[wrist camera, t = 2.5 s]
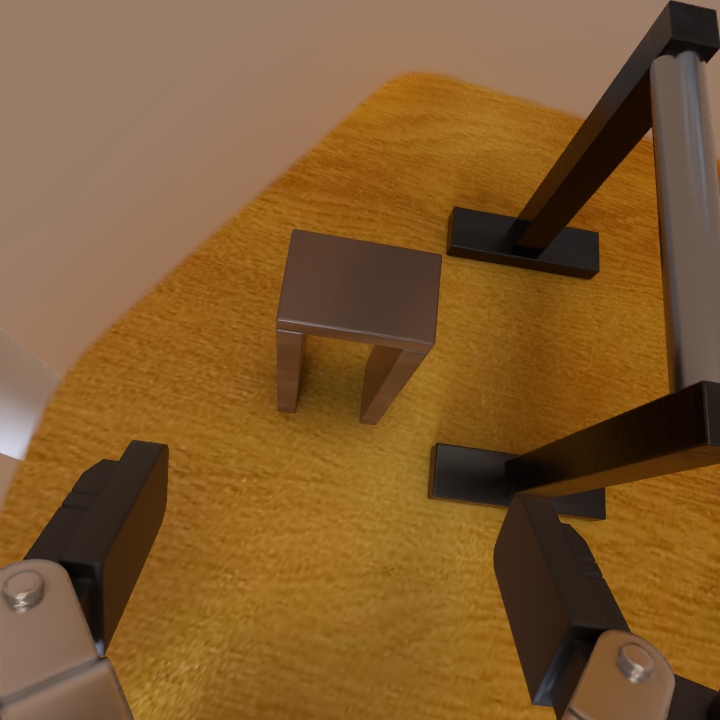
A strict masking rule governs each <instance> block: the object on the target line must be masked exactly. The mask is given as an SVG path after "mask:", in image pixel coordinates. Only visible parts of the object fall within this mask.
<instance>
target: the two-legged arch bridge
mask: <svg viewBox="0 0 720 720" xmlns="http://www.w3.org/2000/svg"><path fill="white" fill-rule="evenodd" d="M441 262H442V256H441V254H436V253H430V252H424V251H418V250H413V249H407V248H401V247H395V246H389V245H384V244H378V243H372V242H366V241H360V240H355V239H349V238H343V237H337V236H332V235H326V234H320V233H314V232H308V231H303V230H297V229H293V231H292V234H291V240H290V245H289V251H288V256H287V262H286V267H285V273H284V278H283V284H282V289H281V295H280V300H279V306H278V311H277V317H276V327H277V328H276V334H277V384H278V411H281V412H288V413H295V411H296V405H297V398H298V392H299V386H300V380H301V373H302V367H303V361H304V355H305V346H306V338H307V334H310V335H316V336H323V337H329V338H335V339H342V340H348V341H354V342H361V343H367V344H373V345H375V346H374V348H373V350H372V352H371V355H370V357H369V359H368V361H367V364H366V372H365V380H364V388H363V396H362V405H361V413H360V423H364V424H371V425H376V424H377V422H378V421H379V420H380V418H381V417H382V416H383V414H384V413H385V411H386V410H387V409H388V407H389V406H390V405H391V403H392V402H393V401H394V399H395V398H396V396H397V395H398V394H399V392H400V391H401V390H402V388H403V387H404V386H405V384H406V383H407V381H408V380H409V379H410V377H411V376H412V375H413V373H414V372H415V371H416V369H417V368H418V366H419V365H420V364H421V362H422V361H423V360H424V358H425V357H426V355H427V354H428V353H429V351H430V350H431V349H432V347H433V346H434V344H435V338H436V325H437V312H438V300H439V287H440V275H441Z"/></svg>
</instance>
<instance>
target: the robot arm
mask: <svg viewBox="0 0 720 720" xmlns="http://www.w3.org/2000/svg"><path fill="white" fill-rule="evenodd" d="M168 459H169V448H168V445H166V444H159V443H152V442H145V441H138V440H133V441H132V442H131V443H130V444H129V446H128V447H127V449H126V451H125V452H124V454H123V455H122V457H121V459H120V460H119V461H114V460H106V459H103V460H101V461H100V462H98V463H97V464H95V465H94V466H92V467H91V468H89V469H88V470H86V471H85V472H83V474H82V475H81V477H80V478H79V480H78V481H77V483H76V484H75V485H74V487H73V488H72V491H71V493H69V494H68V496H67V497H66V498H65V500H64V501H63V503H62V506H61V507H59V508H58V510H57V511H56V513H55V514H54V516H53V517H52V519H51V520H50V521H49V523H48V524H47V526H46V527H45V529H44V530H43V532H42V533H41V534H40V536H39V537H38V539H37V540H36V542H35V543H34V544H33V546H32V547H31V549H30V550H29V552H28V553H27V555H26V556H25V557H24V559H23V560H22V561H19V562H15V563H13V564H10V565H7V566H5V567H3V568H1V569H0V720H134V718H133V715H132V713H131V710H130V708H129V705H128V703H127V700H126V698H125V695H124V693H123V690H122V688H121V685H120V683H119V680H118V677H117V675H116V672H115V670H114V668H113V665H112V663H111V661H110V660H109V658H108V657H106V656H105V657H103V658H101V657H100V655H101V656H104V655H105V653H106V650H107V648H108V646H109V644H110V641H111V639H112V637H113V634H114V632H115V630H116V627H117V625H118V623H119V621H120V618H121V616H122V614H123V611H124V609H125V607H126V605H127V602H128V600H129V598H130V595H131V593H132V591H133V589H134V586H135V584H136V582H137V579H138V577H139V575H140V573H141V570H142V568H143V566H144V563H145V561H146V559H147V557H148V554H149V552H150V550H151V547H152V545H153V543H154V541H155V538H156V536H157V534H158V531H159V529H160V527H161V524H162V521H163V517H164V513H165V509H166V502H167V484H168ZM493 560H494V570H495V574H496V578H497V581H498V585H499V588H500V592H501V596H502V599H503V603H504V606H505V610H506V613H507V617H508V620H509V624H510V627H511V631H512V634H513V638H514V641H515V645H516V648H517V652H518V655H519V659H520V663H521V666H522V670H523V673H524V677H525V680H526V684H527V687H528V691H529V694H530V698H531V701H532V705H540V706H549V707H553V708H554V711H555V714H556V718H557V719H556V720H720V689H719V691H715V690H713V689H710V688H708V687H705V686H703V685H700V684H698V683H695V682H693V681H690V680H688V679H685V678H683V677H680V676H678V675H676V674H674V673H673V671H672V669H671V667H670V665H669V663H668V662H667V660H666V659H665V657H664V656H663V655H662V654H661V653H660V652H659V651H658V650H657V649H656V648H655V647H654V646H653V645H652V644H650V643H649V642H648V641H646V640H645V639H643V638H641V637H639V636H637V635H635V634H633V633H631V631H630V629H629V627H628V625H627V623H626V621H625V619H624V617H623V615H622V613H621V611H620V609H619V607H618V605H617V603H616V601H615V599H614V597H613V595H612V593H611V591H610V589H609V587H608V585H607V583H606V581H605V579H602V573H601V571H600V569H599V567H598V565H597V564H596V563H595V559H594V557H593V555H592V553H591V551H590V549H589V547H588V545H587V543H586V541H585V540H584V539H583V538H582V537H581V536H580V535H579V534H578V533H577V532H576V531H575V530H574V529H573V528H572V527H571V526H570V525H569V524H564V523H561V522H560V520H559V518H558V516H557V514H556V512H555V509H554V507H553V505H552V503H551V502H550V500H548V499H543V498H536V497H529V496H522V495H516V496H514V497H513V499H512V501H511V503H510V506H509V509H508V511H507V514H506V517H505V519H504V522H503V525H502V527H501V530H500V533H499V536H498V538H497V541H496V544H495V548H494V558H493Z"/></svg>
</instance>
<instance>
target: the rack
mask: <svg viewBox="0 0 720 720" xmlns="http://www.w3.org/2000/svg"><path fill="white" fill-rule="evenodd" d="M719 49H720V37H719V28H718V21H717V12H716V10H714V9H709V8H704V7H700V6H695V5H691V4H686V3H681V2H677V1H673V0H671V1H669V2H668V4H667V5H666V6H665V8H664V10H663V11H662V12H661V14H660V15H659V16H658V18H657V19H656V21H655V22H654V24H653V25H652V27H651V28H650V29H649V31H648V32H647V34H646V35H645V37H644V38H643V39H642V41H641V42H640V43H639V45H638V47H637V48H636V49H635V51H634V52H633V53H632V55H631V56H630V58H629V59H628V61H627V62H626V64H625V65H624V66H623V68H622V69H621V71H620V72H619V73H618V75H617V76H616V78H615V79H614V81H613V82H612V83H611V85H610V86H609V88H608V89H607V90H606V92H605V93H604V95H603V96H602V98H601V99H600V100H599V102H598V103H597V105H596V106H595V108H594V109H593V110H592V112H591V113H590V115H589V116H588V117H587V119H586V120H585V122H584V123H583V125H582V126H581V127H580V129H579V130H578V132H577V133H576V135H575V136H574V137H573V139H572V140H571V142H570V143H569V145H568V146H567V147H566V149H565V150H564V152H563V153H562V155H561V156H560V157H559V159H558V160H557V162H556V163H555V165H554V166H553V167H552V169H551V170H550V172H549V173H548V174H547V176H546V177H545V179H544V180H543V182H542V183H541V184H540V186H539V187H538V189H537V190H536V192H535V193H534V194H533V196H532V197H531V199H530V200H529V202H528V203H527V204H526V206H525V207H524V209H523V210H522V212H521V213H520V214H519V216H518V217H517V218H515V217H509V216H503V215H498V214H492V213H487V212H481V211H476V210H470V209H465V208H459V207H454V209H453V211H452V213H451V215H450V217H449V227H448V240H447V255H451V256H457V257H462V258H468V259H474V260H480V261H486V262H491V263H497V264H503V265H509V266H515V267H520V268H526V269H532V270H538V271H543V272H549V273H555V274H561V275H567V276H572V277H578V278H584V279H592V278H593V277H594V276H595V275H596V274H597V273H598V272H599V233H598V232H592V231H587V230H581V229H576V228H570V227H565V226H566V225H567V224H568V223H569V222H570V220H571V219H572V218H573V217H574V216H575V215H576V214H577V212H578V211H579V210H580V209H581V208H582V207H583V205H584V204H585V203H586V202H587V201H588V200H589V199H590V197H591V196H592V195H593V194H594V193H595V192H596V190H597V189H598V188H599V187H600V186H601V185H602V184H603V182H604V181H605V180H606V179H607V178H608V177H609V176H610V174H611V173H612V172H613V171H614V170H615V169H616V167H617V166H618V165H619V164H620V163H621V162H622V161H623V159H624V158H625V157H626V156H627V155H628V154H629V152H630V151H631V150H632V149H633V148H634V147H635V146H636V144H637V143H638V142H639V141H640V140H641V139H642V137H643V136H644V135H645V134H646V133H647V132H648V131H649V129H650V128H651V127H652V133H653V148H654V164H655V179H656V194H657V210H658V225H659V241H660V256H661V271H662V287H663V302H664V317H665V333H666V348H667V363H668V379H669V394H668V395H666V396H663V397H661V398H658V399H656V400H654V401H651V402H649V403H646V404H644V405H641V406H639V407H637V408H634V409H632V410H629V411H627V412H624V413H622V414H620V415H617V416H615V417H612V418H610V419H608V420H605V421H603V422H600V423H598V424H595V425H593V426H591V427H588V428H586V429H583V430H581V431H578V432H576V433H574V434H571V435H569V436H566V437H564V438H561V439H559V440H557V441H554V442H552V443H549V444H547V445H545V446H542V447H540V448H537V449H535V450H532V451H530V452H528V453H525V454H523V455H518V454H511V453H504V452H497V451H490V450H483V449H476V448H469V447H462V446H456V445H449V444H442V443H436V444H435V445H434V446H432V449H431V462H430V475H429V488H428V498H429V499H436V500H443V501H451V502H458V503H465V504H473V505H480V506H488V507H495V508H502V509H509V506H510V503H511V501H512V499H513V497H514V496H516V495H522V496H529V497H536V498H543V499H548V500H550V502H551V503H552V505H553V507H554V509H555V512H556V514H557V516H561V517H568V518H576V519H583V520H591V521H599V520H605V519H606V511H605V487H608V486H613V485H618V484H623V483H628V482H632V481H637V480H642V479H647V478H652V477H657V476H661V475H666V474H671V473H676V472H681V471H686V470H690V469H695V468H700V467H705V466H710V465H715V464H719V463H720V190H719V180H718V171H717V162H716V153H715V144H714V135H713V126H712V116H711V107H710V99H709V89H708V81H707V70H706V64H707V63H708V61H709V60H710V59H711V58H712V57H713V56H714V54H715V53H716V52H717V51H718V50H719Z"/></svg>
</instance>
